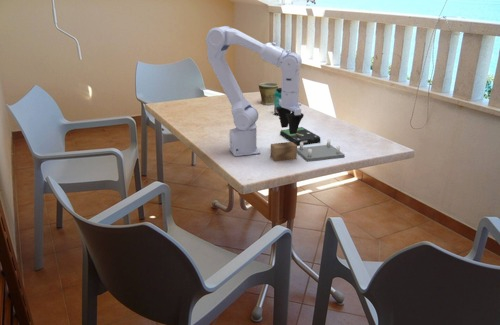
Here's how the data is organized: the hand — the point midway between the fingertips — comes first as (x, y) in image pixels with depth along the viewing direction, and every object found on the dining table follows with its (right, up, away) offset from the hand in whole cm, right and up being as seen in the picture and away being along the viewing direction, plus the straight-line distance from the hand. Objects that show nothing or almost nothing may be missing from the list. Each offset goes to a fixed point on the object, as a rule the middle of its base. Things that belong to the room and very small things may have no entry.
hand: (288, 130), depth 141 cm
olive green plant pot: (-4, +20, +76) cm, 79 cm away
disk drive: (+6, -2, +22) cm, 23 cm away
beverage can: (+2, +12, +55) cm, 56 cm away
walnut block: (-2, -10, +2) cm, 10 cm away
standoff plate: (+11, -8, +5) cm, 15 cm away
